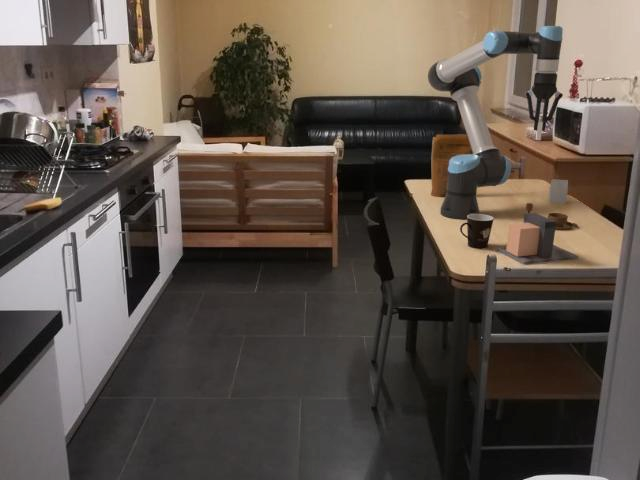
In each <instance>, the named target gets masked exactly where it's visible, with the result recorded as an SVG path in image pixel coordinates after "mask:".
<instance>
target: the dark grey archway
mask: <svg viewBox="0 0 640 480" xmlns="http://www.w3.org/2000/svg"><path fill="white" fill-rule="evenodd" d="M523 215H524V217H523V223H528V222H530V223H533V224H535V225H538V226H540V227H541V229H540V236H539V244H538V252H537V256H538V257H540V258H544V257H552V250H553V245H554V241H555V240H554V239H555V233H556V230H555V228H556V221H554V220H551V219H549V218H548V217H547V216H543V215H542V214H541V215H540V214H539V213H536V212H533V213H531V212H530V213H529V214H527V213H524V214H523Z"/></svg>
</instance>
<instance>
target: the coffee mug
mask: <svg viewBox="0 0 640 480" xmlns="http://www.w3.org/2000/svg"><path fill="white" fill-rule="evenodd" d="M494 220H495V219H494V217H493V216H491V215H488V214H482V213H479V214H470V215H467V219H466V222H464V223H462V224H461V225H460V227H459V232H460V234H462V236H463V237H464V238H467V246H468V247H469V248H472V249H477V250H483V249H482V248H484V249H487V248H488V245H489V241H490V236H491V232H492V227H493V223H494ZM465 225H467V228H466V229H467V235H466V234H465V233H464V232H463V227H464V226H465Z"/></svg>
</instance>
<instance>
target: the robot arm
mask: <svg viewBox="0 0 640 480" xmlns="http://www.w3.org/2000/svg"><path fill="white" fill-rule="evenodd" d="M563 30H564V29H563V27H562V26H561V25H542V26H541V27H540V28H539V32H538V31H531V32H530V31H508V30H491V31H489V32H487V33H486V35H485V36H484V37H483V40H481V41H479V42H477V43H476V44H474V45H472V46H470V47H467V48H466V49H464V50H463V51H461V52H459V53H457V54H455V55H453V56H451V57H449V58H442V59H440V60H438V61H437V62H435V63H434V64H432V65H431V66H430V68H429V70H428V72H427V79H428V83H429V85H430V86H431V88H433V89H434V90H436V91H438V92H449V94H450V97H451V100H454V101H455V102H457V103H456V104H457V106H458V110H459V113H460V116H461V118H462V119H461V120H462V122H463V126H464V128H465V131H466V133H465V134H467V136H468V139H469V142H470V145H471V149H472V152H473V154H467V155H465V154H463V155H457V156H454V157H452V158H451V159H450V161H449V167H448V180H447V192H446V196H445V197H444V199H443V201H442V204H441V207H440V212H439V213H440V215H442V216H443V217H445V218H451V219H456V220H457V219H458V220H467V215H470V214H480V207H479V203H478V199H477V194H478V193H477V191H478V188H483V187H484V188H485V187H496V186H500V185H503V184H505V183H506V182H507V181H508V179H509V177H510V175H511V171H512V168H511V167H512V166H511V163H510V162H511V161H510V160H509V158H508V157H506V156H505V155H502V154H501V152H500V149H499V148H498V147H496V146H495V145H494V143H493V140H492V136H491V133H490V130H489V127H488V124H487V120H486V118H485V115H484V111H483V108H482V104H481V101H480V99H479V96H478V93H479V91H480V87H481V84H482V73H481V70H480V68H479V66H481V65H483V64H485V63H487V62H489V61H492V60H494V59H495V58H497V57H499V56H502V55H509V54H511V55H512V54H513V55H536V62H535V63H536V64H535V71H536V72H535V73H534V79H533V85H532V87H531V89H529V90H528V91H526V92H524V96H525V97H526V100H527V106H528V108H527V109H528V115H529V119H530V120H533V122H534V124H533V131H536V133H535V140H536V141H541V140H542V132H544V131H545V130H546V126H547V125H546V124H547V122H548V121H552V120H553V117H554V115H555V112H556V109H557V107H558V104H559V102H560V99H562V97H563V95H564V94H563V93H562V92H560V91H559V90H558V87H557V81H558V73H557V72H558V71H559V64H560V57H561V56H560V55H561V49H562V48H561V47H562V44H563ZM533 95H534V96H535V98H536V105H535V111H534V108H533V100H532V97H533ZM553 96H554V99H553V102H552V105H551V107H550V110H549V103H550V99H551V98H552V97H553ZM542 100H543V109H542V116H541V117H542V118H541V121H540V114H541V106H542V105H541V104H542ZM548 110H549V112H548ZM534 112H535V113H534Z"/></svg>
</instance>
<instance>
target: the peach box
mask: <svg viewBox="0 0 640 480" xmlns="http://www.w3.org/2000/svg"><path fill="white" fill-rule="evenodd" d="M540 229H541V227H540V226H538V225H535V224H533V223H530V222H528V223H524V222H518V223H517V222H516V223H509V224H508V232H507V241H506V247H507V248H506V251H507V252H509V253H511V254H513V255H515V256H517V257H519V256H528V255H537V252H538V244H539V236H540Z"/></svg>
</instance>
